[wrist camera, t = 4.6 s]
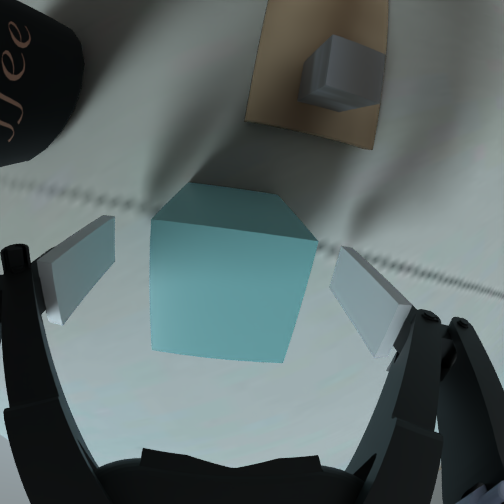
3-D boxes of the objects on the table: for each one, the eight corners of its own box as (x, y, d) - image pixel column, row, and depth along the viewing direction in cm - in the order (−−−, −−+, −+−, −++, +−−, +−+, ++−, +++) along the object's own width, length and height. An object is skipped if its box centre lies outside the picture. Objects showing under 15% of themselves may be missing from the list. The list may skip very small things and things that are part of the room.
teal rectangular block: (180, 264, 19) (151, 350, 11) (188, 182, 17) (151, 219, 9) (261, 274, 19) (282, 363, 11) (277, 194, 17) (318, 241, 9)
